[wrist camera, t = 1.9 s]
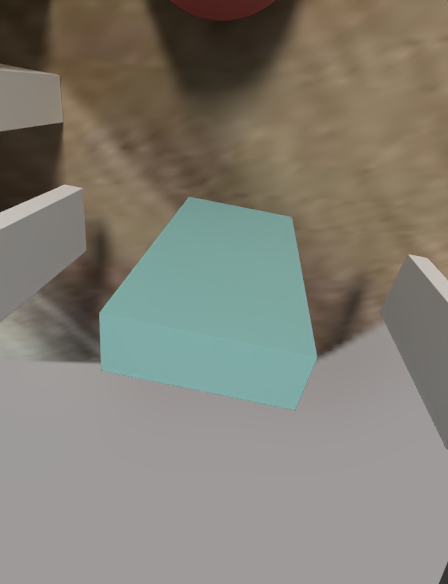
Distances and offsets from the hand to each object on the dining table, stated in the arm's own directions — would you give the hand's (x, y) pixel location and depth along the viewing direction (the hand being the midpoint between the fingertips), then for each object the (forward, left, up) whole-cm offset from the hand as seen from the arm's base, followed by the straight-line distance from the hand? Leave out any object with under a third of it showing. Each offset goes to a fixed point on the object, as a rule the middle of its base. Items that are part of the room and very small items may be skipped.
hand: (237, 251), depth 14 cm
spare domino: (0, 0, -3) cm, 3 cm away
